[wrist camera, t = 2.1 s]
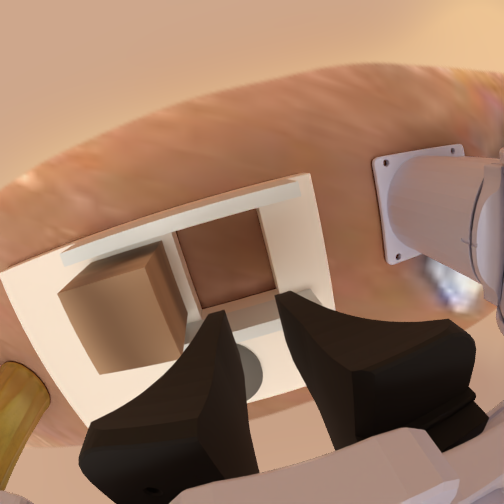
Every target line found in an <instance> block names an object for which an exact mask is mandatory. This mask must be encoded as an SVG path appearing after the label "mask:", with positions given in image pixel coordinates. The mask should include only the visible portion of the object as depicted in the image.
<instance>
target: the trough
mask: <svg viewBox="0 0 504 504" xmlns="http://www.w3.org/2000/svg"><path fill="white" fill-rule="evenodd" d="M300 196H301V192H300V188H299V183H298V181H295V180H290V179H284V180H280V181H276V182H272V183H268V184H264V185H260V186H256V187H252V188H249V189H245V190H241V191H238V192H234V193H230V194H227V195H223V196H219V197H216V198H212V199H209V200H205V201H202V202H199V203H195V204H192V205H188V206H185V207H182V208H178V209H175V210H172V211H169V212H165V213H162V214H159V215H156V216H153V217H150V218H147V219H143V220H140V221H137V222H134V223H131V224H128V225H125V226H122V227H119V228H116V229H114V230H111V231H108V232H105V233H102V234H99V235H96V236H94V237H91V238H88V239H85V240H82V241H80V242H77V243H75V244H74V245H72V246H71V247H69V248H68V249H66V250H65V251H63V252H62V253H60V257H61V259H62V262H63V265H64V267H66V266H69V265H72V264H75V263H78V262H81V261H84V260H87V259H90V258H93V257H96V256H99V255H102V254H105V253H108V252H111V251H114V250H117V249H120V248H123V247H126V246H129V245H132V244H136V243H139V242H142V241H145V240H148V239H152V238H155V237H158V236H161V235H165V234H168V233H171V232H174V231H178V230H181V229H185V228H188V227H191V226H195V225H198V224H202V223H205V222H208V221H212V220H215V219H219V218H222V217H226V216H230V215H233V214H237V213H240V212H244V211H248V210H251V209H255V208H259V207H262V206H266V205H270V204H274V203H277V202H281V201H285V200H289V199H293V198H297V197H300ZM297 294H298V295H300V296H302V297H304V298H306V299H308V300H310V301H312V302H315V303H317V304H319V305H321V306H323V305H322V303H321V302H320V301H319V299H318V298H317V297H316V296H315V294H314V293H313V292H312V290H311V289H307V290H304V291H301V292H297ZM226 315H227V318H228V321H229V324H230V327H231V330H232V333H233V336H234V339H235V342H236V343H239V342H242V341H246V340H249V339H253V338H257V337H260V336H263V335H267V334H270V333H274V332H277V331H280V330H283V328H282V324H281V320H280V316H279V312H278V308H277V304H276V300H275V299H274V300H271V301H267V302H264V303H261V304H257V305H254V306H250V307H247V308H243V309H240V310H236V311H232V312H229V313H226ZM204 320H205V319H203V320H199V321H195V322H191V323H187V324H186V332H185V341H184V349H183V352H184V351H185V349H186V348H187V347H188V345H189V344H190V342H191V341H192V340H193V338H194V337H195V335H196V333H197V332H198V330H199V329H200V327H201V325H202V324H203V322H204Z"/></svg>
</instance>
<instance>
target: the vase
mask: <svg viewBox="0 0 504 504" xmlns="http://www.w3.org/2000/svg"><path fill="white" fill-rule="evenodd" d="M49 404H50V397H49V394H48V392H47V390H46V388H45V386H44V384H43V383H42V381H41V380H40V379H39V378H38V377H37V376H36V375H35V374H34V373H33V372H32V371H30V370H29V369H28V368H26V367H24V366H23V365H21V364H18V363H15V362H6V363H4V364H3V365H2V366H1V368H0V491H1V490H3V491H4V490H5V488H6V485H7V483H8V480H9V478H10V476H11V474H12V471H13V469H14V467H15V465H16V463H17V461H18V459H19V456H20V454H21V453H22V450H23V448H24V446H25V444H26V442H27V441H28V439H29V437H30V435H31V434H32V432H33V430H34V429H35V427H36V425H37V424H38V422H39V420H40V418H41V416H42V415H43V413H44V412H45V410H46V409H47V408H48V407H49Z"/></svg>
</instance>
